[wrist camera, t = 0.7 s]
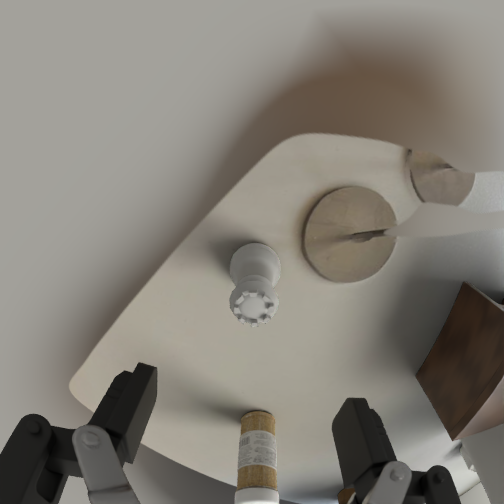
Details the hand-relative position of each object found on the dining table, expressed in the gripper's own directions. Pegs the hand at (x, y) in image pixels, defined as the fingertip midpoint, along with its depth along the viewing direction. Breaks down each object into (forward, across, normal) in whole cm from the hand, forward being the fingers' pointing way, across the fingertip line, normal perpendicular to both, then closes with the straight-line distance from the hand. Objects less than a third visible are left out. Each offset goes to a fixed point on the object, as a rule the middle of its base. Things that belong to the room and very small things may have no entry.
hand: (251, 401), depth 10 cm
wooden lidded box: (+16, -30, +4) cm, 34 cm away
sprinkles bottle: (+16, -5, +21) cm, 27 cm away
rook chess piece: (+16, 0, 0) cm, 16 cm away
